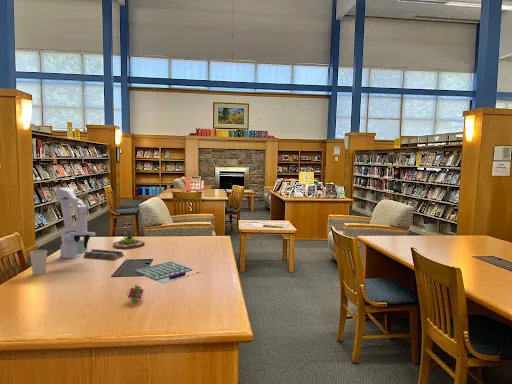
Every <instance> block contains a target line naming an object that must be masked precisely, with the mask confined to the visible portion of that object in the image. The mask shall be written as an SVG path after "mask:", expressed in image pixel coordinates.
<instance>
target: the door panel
mask: <svg viewBox="0 0 512 384" xmlns="http://www.w3.org/2000/svg"><path fill="white" fill-rule="evenodd" d="M86 251H88V247H87V248H84V237H81V238H80V240H79V241H78V242H77V254H79V255H83V254H85V252H86Z"/></svg>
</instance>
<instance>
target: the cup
mask: <svg viewBox="0 0 512 384" xmlns="http://www.w3.org/2000/svg"><path fill="white" fill-rule="evenodd" d="M29 256H30V263H31V265H30V266H31V271H32V276H43V275H46V274H47V258H48V257H47V256H48V250H47V249H36V250H32V251H30V252H29Z"/></svg>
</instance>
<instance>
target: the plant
mask: <svg viewBox="0 0 512 384" xmlns="http://www.w3.org/2000/svg"><path fill="white" fill-rule="evenodd" d="M123 233H124V236H123V238H121V239H120V240H118V241H116V242H113V243H112V245H113V248H114V249H117V250H118V249H119V250H130V249H137V248H142V247H143V246H145V244H146V243H145V241H142V240H139V239H137V238H136V237H135V238H134V236H137V232H132V233H130V232H129V231H127V230H126V231H124V232H123ZM133 234H134V236H132V235H133ZM125 236H126V237H125Z"/></svg>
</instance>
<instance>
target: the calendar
mask: <svg viewBox="0 0 512 384" xmlns="http://www.w3.org/2000/svg"><path fill="white" fill-rule="evenodd" d="M186 266H187V265H186V264H184V265H182V263H179V262H174V261H167V262H163V263H158V264H154V265H150V266H146V267H142V268H137V269H134V272H135V273H137V274H140V275H142V276H144V277H148V278H149V279H152V280H155V281H157V282H160V283H162V284H166V283H169V281H170V282H173V281H176V279H177V280H179V278H180V279H183V277H184V276H185V275H186V273H187V272H189V271H192V270H193V269H191V268H192V267H191V266H187V267H186ZM190 267H191V268H190ZM184 278H185V277H184Z"/></svg>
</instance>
